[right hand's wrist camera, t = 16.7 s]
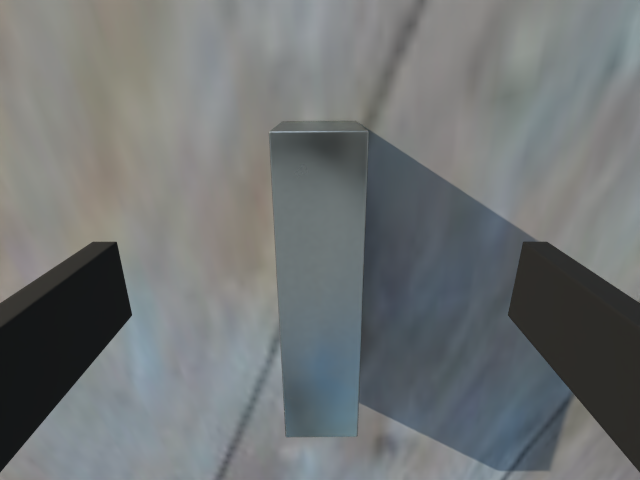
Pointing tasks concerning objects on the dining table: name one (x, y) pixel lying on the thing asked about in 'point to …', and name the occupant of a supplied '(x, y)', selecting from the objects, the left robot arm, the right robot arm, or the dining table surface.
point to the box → (320, 270)
